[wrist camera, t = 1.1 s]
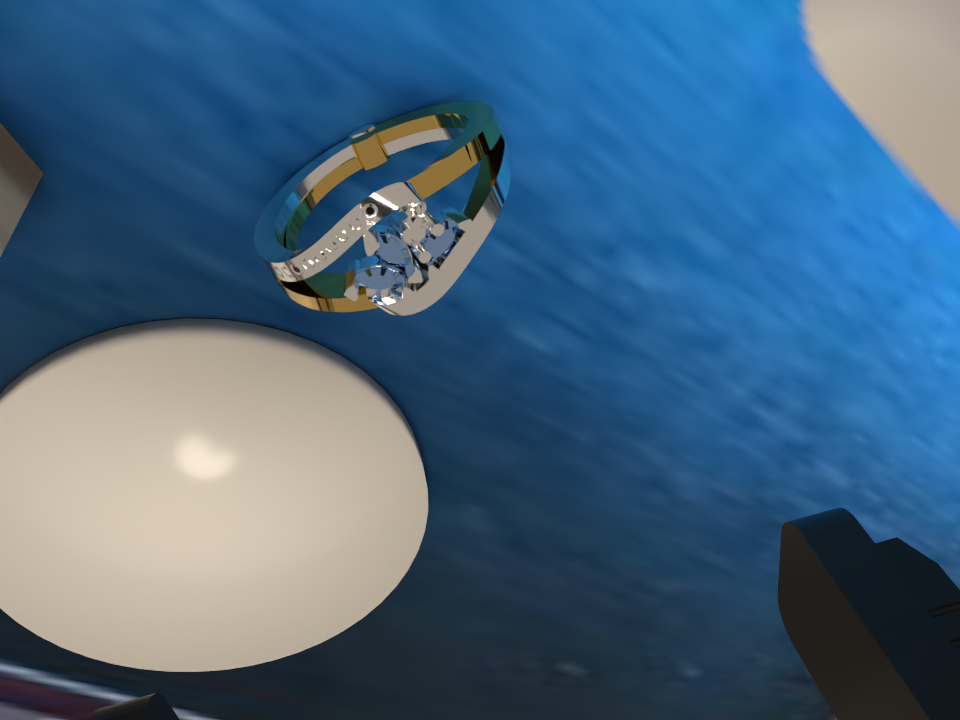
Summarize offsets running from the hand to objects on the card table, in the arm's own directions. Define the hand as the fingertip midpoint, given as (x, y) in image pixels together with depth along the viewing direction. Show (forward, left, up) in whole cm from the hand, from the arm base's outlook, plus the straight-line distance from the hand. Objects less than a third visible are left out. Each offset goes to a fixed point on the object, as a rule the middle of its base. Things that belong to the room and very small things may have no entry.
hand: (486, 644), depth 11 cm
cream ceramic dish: (+9, +12, -18) cm, 23 cm away
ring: (0, 0, -18) cm, 18 cm away
